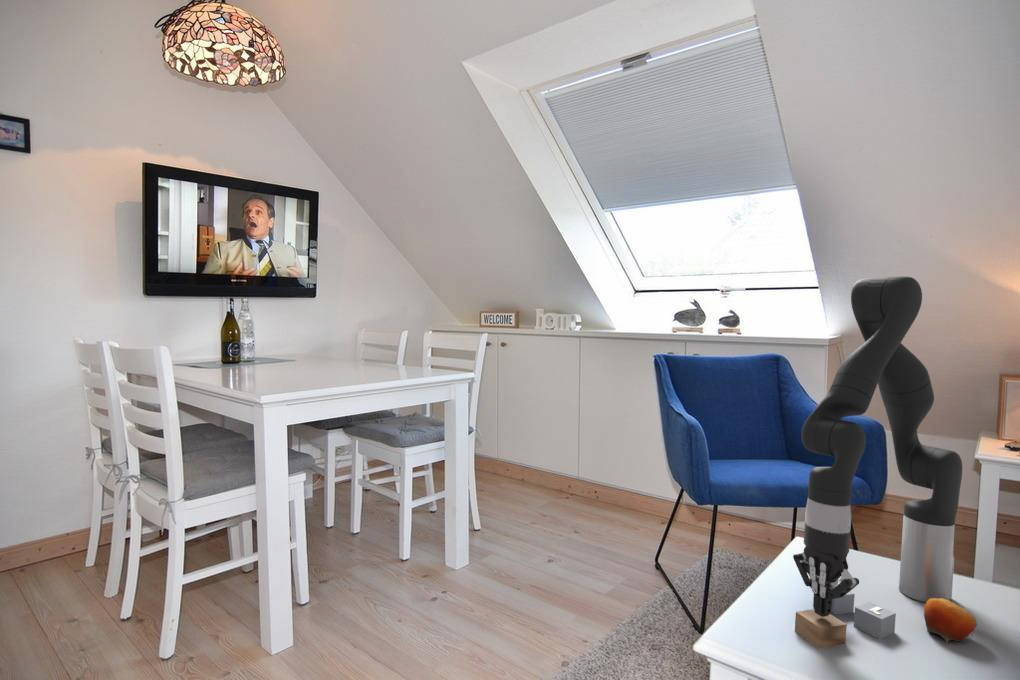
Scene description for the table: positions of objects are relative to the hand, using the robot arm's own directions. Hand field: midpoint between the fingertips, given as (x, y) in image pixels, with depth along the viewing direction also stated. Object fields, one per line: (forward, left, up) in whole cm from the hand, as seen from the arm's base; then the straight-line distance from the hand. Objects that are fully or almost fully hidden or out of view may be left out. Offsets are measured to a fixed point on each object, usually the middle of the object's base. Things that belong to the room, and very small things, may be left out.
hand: (821, 614), depth 108 cm
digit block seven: (-13, -8, -5) cm, 16 cm away
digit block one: (-13, +1, -5) cm, 14 cm away
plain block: (0, 0, -5) cm, 5 cm away
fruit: (-25, +7, -5) cm, 27 cm away
